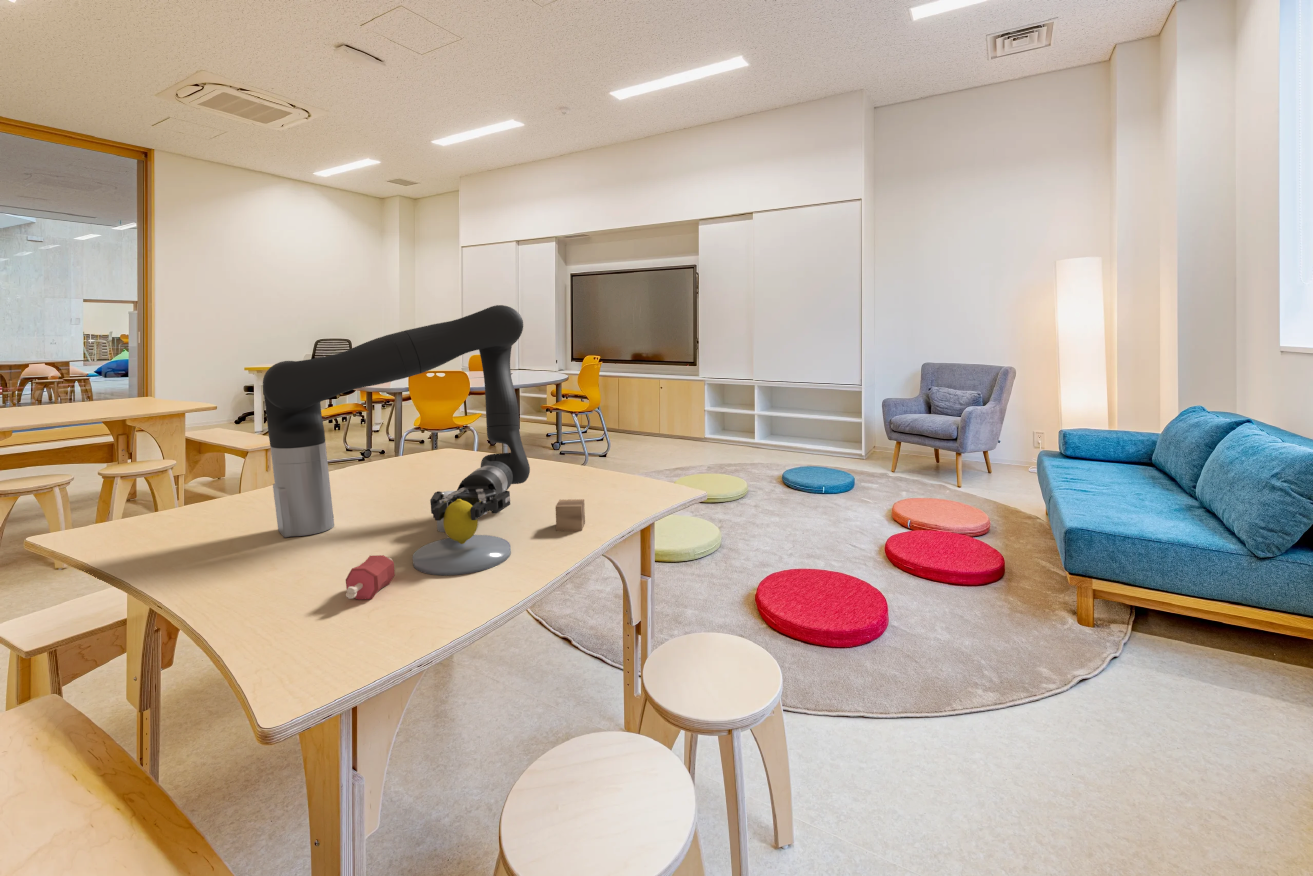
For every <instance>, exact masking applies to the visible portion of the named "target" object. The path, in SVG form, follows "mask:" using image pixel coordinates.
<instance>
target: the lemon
mask: <svg viewBox="0 0 1313 876" xmlns="http://www.w3.org/2000/svg"><path fill="white" fill-rule="evenodd" d="M471 507H472V505H471V504H470V503H468V502H466V501H463V500H462V499H457V500H456V501H455V502H453V503H451V504H450V505H449V506H448V507H447V508H446V510H445V514H444V520H443V524H444V529H445V532H444V533H445V534H446V536H448V538H451V539H452V540H454V541H458V542H459V543H460V544H464V543H465V542H466V541H467V540H468V539H470V538H471V537H472V536H473V535H476V534H475V533H476V532H477V530H478V525H479V523H478V521H479V520H478V519H479V518H478V519H477V520H471Z"/></svg>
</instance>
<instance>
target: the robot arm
mask: <svg viewBox="0 0 1313 876" xmlns="http://www.w3.org/2000/svg"><path fill="white" fill-rule="evenodd" d="M523 331H524V320H523V317H522V315H521V314H520V313H519V311H517V310H516V309H514V308H513V307H511V306H507V305H503V304H500V305H499V304H495V305H492V306H489V307H487V308H484V309H482V310H479V311H476V312H475V313H472V314H469V315H466V316H464V317H460V318H457V319H453V320H450V321H449V320H447V321H444V322H438V323H433V324H429V325H424V326H419V327H416V328H409V329H406V330H401V331H398V332H394V333H390V334H386V335H383V336H380V337H377V338H374V339H372V340H369V341H366V342H363V343H361V344H358V345H357V346H355V347H354V346H353V347H351V348H349V349H347V350H345V351H342V352H339V353H336V354H331V355H325V356H321V357H315V358H310V359H304V360H284V361H283V360H282V361H279V362H277V363H275V364H273V365H272V366H270V367H269V368H268V369H267V371H265V374H264V375H263V379H262V390H263V398H264V406H265V413H266V414H265V415H266V421H267V422H266V424H267V432H268V440H269V446H270V447H269V448H270V456H271V463H272V470H273V471H272V472H273V480H274V483H273V484H272V490H273V498H274V507H275V515H276V521H277V531H278V532H279V533H280V534H281V535H282V536H283V538H289V537H301V536H310V535H314V534H315V535H316V534H319V533H323V532H326V531H328V530H331V529H332V528H333V527H335V519H334V508H333V500H332V499H333V498H332V491H331V481H330V472H329V462H328V454H327V445H326V434H325V427H324V420H323V416H322V407H321V402H323V401H326V400H328V399H331V398H334V397H336V396H339V395H341V394H344V393H347V392H350V391H353V390H356V389H362V388H366V387H372V386H379V385H383V384H387V383H391V382H394V381H399V380H404V379H406V378H409V377H413V376H417V375H421V374H423V373H426V372H428V371H431V370H434V369H436V368H437V367H441V366H443V365H445V364H446V363H448V362H450V361H452V360H455V359H456V358H459V357H461V356H464V355H466V354H468V353H471V352H475V351H479V355H480V361H481V365H482V366H481V367H482V372H483V381H484V396H485V397H484V398H485V417H486V421H485V422H486V437H487V440H488V441H490V442H491V443H496V444H505V445H506V446H507V447H508V448H509V450H510V452H502V453H501V452H500V453H499V452H498V453H491V454H486V455H485V456H484V457H483V458H482V459H481V462H480V467H479V468H477V469H475V470H473V472H471V473H470V474H468V475H467V476H465V478H463V479H462V480H461V481H460V483H459V485H458V487H457V489H456V490H453V491H454V492H452V493H451V494H448V495H444V494H443V493H442V492H443V491H440V490H439V491H435V492H433V495H432V496H431V498H430V500H429V501H430V503H429V504H430V513H431V514H432V516H433V517H432V518H433V519H434V520H435V522H437V521H440V520H441V519H442V518H444V514H445V510H446V508H447V503H448V506H449V505H450V504H451V503H453V502H455V501H456V500H457V499H462V500H463V501H466V502H468V503H470V504H471V505H472V507H471V520H477V519H479V518H482V516H485V515H487V514H488V512H491V514H499V513H500V512H502V510H504V509H506V508H507V507H509V506H510V505H511V492H510V490H509V489H510V487H511V486H512V485H519V484H523V483H525V482H526V481H527V480H528V478H529V475H530V472H531V469H530V468H531V467H530V463H529V460H528V457H527V455H526V451H525V449H524V445H523V442H522V438H521V432H520V418H519V417H520V415H519V406H518V405H519V404H518V399H517V394H516V390H515V388H514V383H513V379H512V373H511V372H512V371H511V355H512V347H513V345H514V344H515V343H517V341H518V340H520V338H521V336H522V333H523Z"/></svg>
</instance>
